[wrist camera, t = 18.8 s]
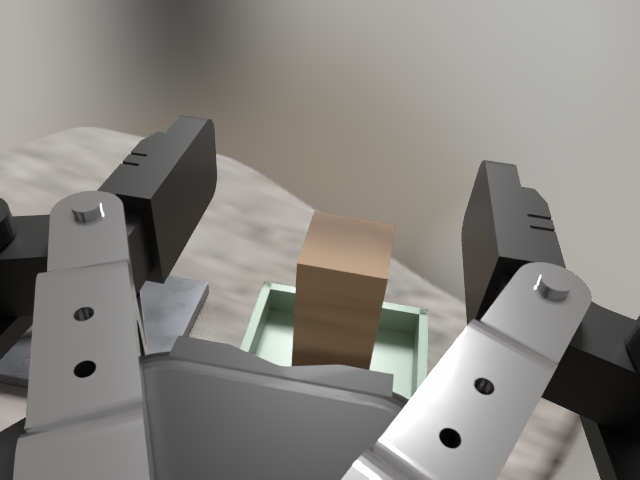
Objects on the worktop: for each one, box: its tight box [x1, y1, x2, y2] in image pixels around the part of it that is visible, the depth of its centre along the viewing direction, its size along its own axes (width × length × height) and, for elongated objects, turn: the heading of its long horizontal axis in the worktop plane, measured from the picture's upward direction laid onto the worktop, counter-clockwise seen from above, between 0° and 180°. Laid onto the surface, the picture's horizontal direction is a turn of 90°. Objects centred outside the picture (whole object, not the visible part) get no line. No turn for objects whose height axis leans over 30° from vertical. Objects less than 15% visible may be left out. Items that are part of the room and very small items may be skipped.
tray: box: [240, 282, 428, 400], centre depth 35 cm, size 12×12×3 cm
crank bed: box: [0, 276, 209, 388], centre depth 36 cm, size 11×16×8 cm
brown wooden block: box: [291, 211, 395, 370], centre depth 32 cm, size 4×4×12 cm
